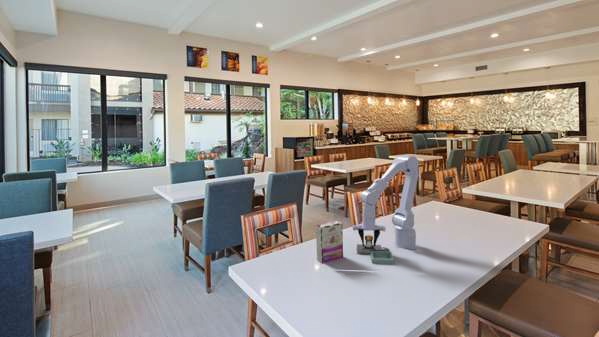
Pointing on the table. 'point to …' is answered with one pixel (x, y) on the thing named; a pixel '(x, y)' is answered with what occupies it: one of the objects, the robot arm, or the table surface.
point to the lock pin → (368, 241)
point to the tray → (382, 261)
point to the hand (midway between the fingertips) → (368, 245)
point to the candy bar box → (329, 241)
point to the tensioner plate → (363, 250)
